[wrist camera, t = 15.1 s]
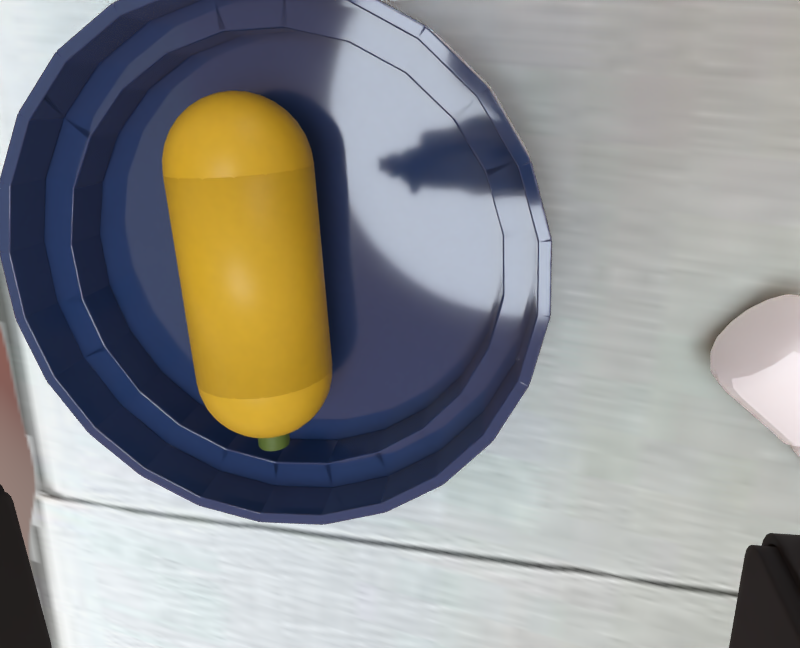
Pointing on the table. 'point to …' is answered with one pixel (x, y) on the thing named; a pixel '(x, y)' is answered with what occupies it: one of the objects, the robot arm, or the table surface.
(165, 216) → the shallow blue dish
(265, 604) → the table surface
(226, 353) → the squash
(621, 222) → the table surface
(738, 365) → the unicorn horn
